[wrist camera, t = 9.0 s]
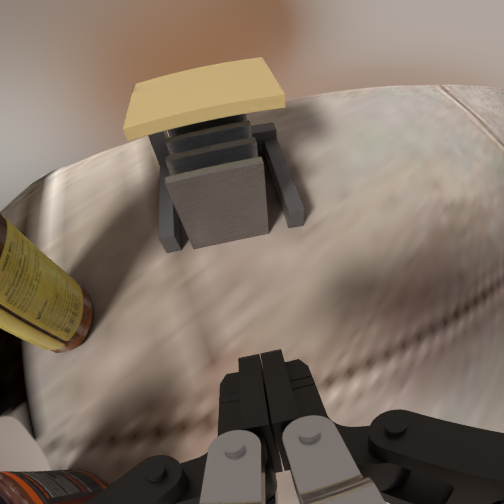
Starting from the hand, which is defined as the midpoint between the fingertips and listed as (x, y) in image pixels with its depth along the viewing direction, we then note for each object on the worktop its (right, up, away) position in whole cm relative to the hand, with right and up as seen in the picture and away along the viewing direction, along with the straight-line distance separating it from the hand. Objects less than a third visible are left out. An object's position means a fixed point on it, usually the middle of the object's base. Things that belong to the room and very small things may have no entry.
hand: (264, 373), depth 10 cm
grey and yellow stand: (-3, +9, +16) cm, 19 cm away
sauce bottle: (-16, -1, +11) cm, 19 cm away
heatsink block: (-3, +9, +16) cm, 19 cm away
